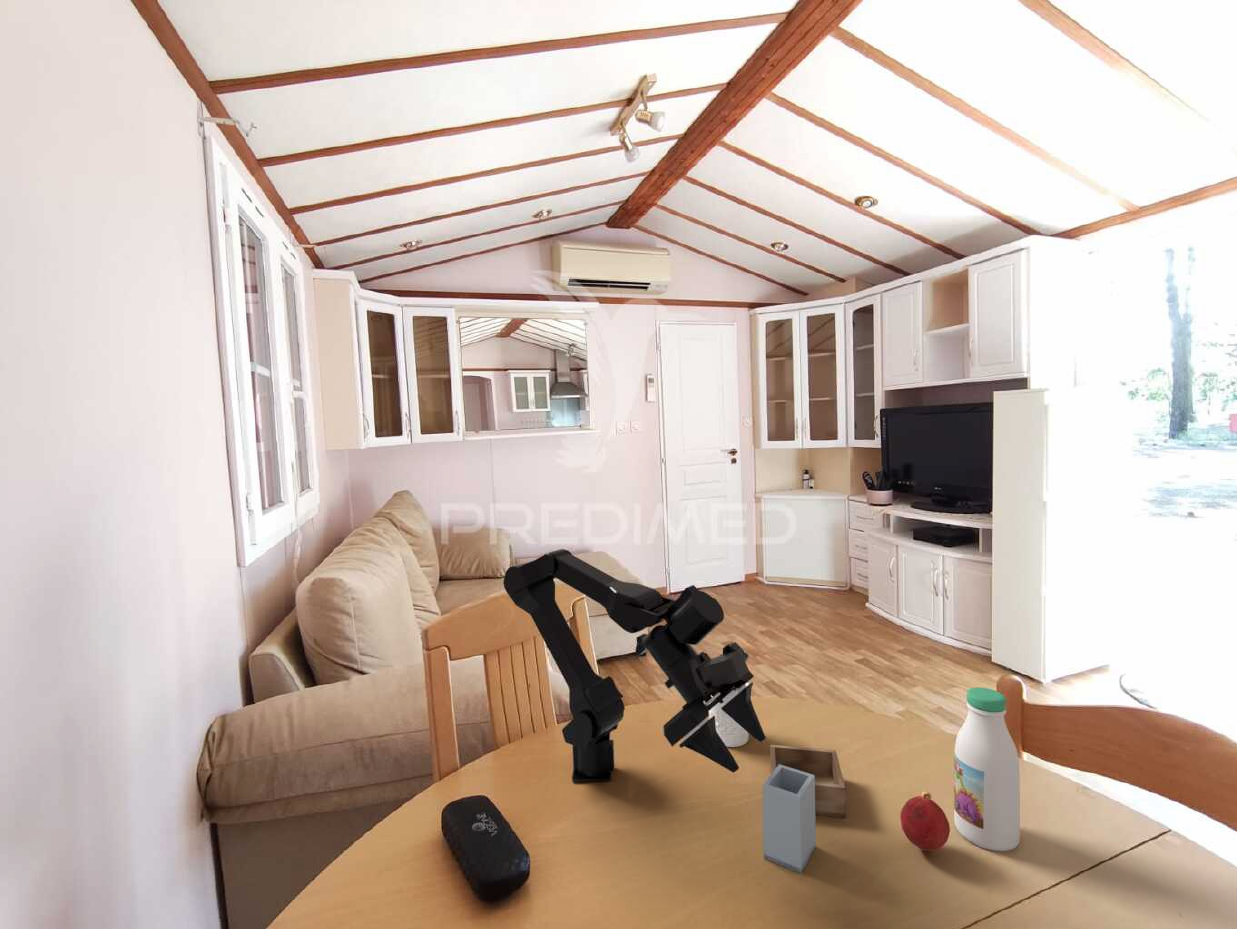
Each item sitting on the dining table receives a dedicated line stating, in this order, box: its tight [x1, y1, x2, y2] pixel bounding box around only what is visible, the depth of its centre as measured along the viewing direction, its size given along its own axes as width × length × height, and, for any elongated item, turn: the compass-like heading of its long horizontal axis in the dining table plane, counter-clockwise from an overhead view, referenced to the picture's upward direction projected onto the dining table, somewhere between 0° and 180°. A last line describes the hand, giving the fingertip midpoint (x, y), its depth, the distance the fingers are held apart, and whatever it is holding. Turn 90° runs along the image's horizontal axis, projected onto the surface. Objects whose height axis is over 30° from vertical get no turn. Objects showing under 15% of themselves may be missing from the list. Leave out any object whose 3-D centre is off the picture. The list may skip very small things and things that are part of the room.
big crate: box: [769, 744, 847, 819], centre depth 92 cm, size 10×10×4 cm
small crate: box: [761, 764, 817, 875], centre depth 79 cm, size 5×6×10 cm
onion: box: [899, 791, 951, 852], centre depth 78 cm, size 6×6×8 cm
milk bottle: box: [953, 687, 1021, 852], centre depth 81 cm, size 8×8×20 cm
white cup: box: [708, 682, 750, 748], centre depth 109 cm, size 8×8×10 cm
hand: (750, 754), depth 82 cm, fingers open, 9 cm apart
